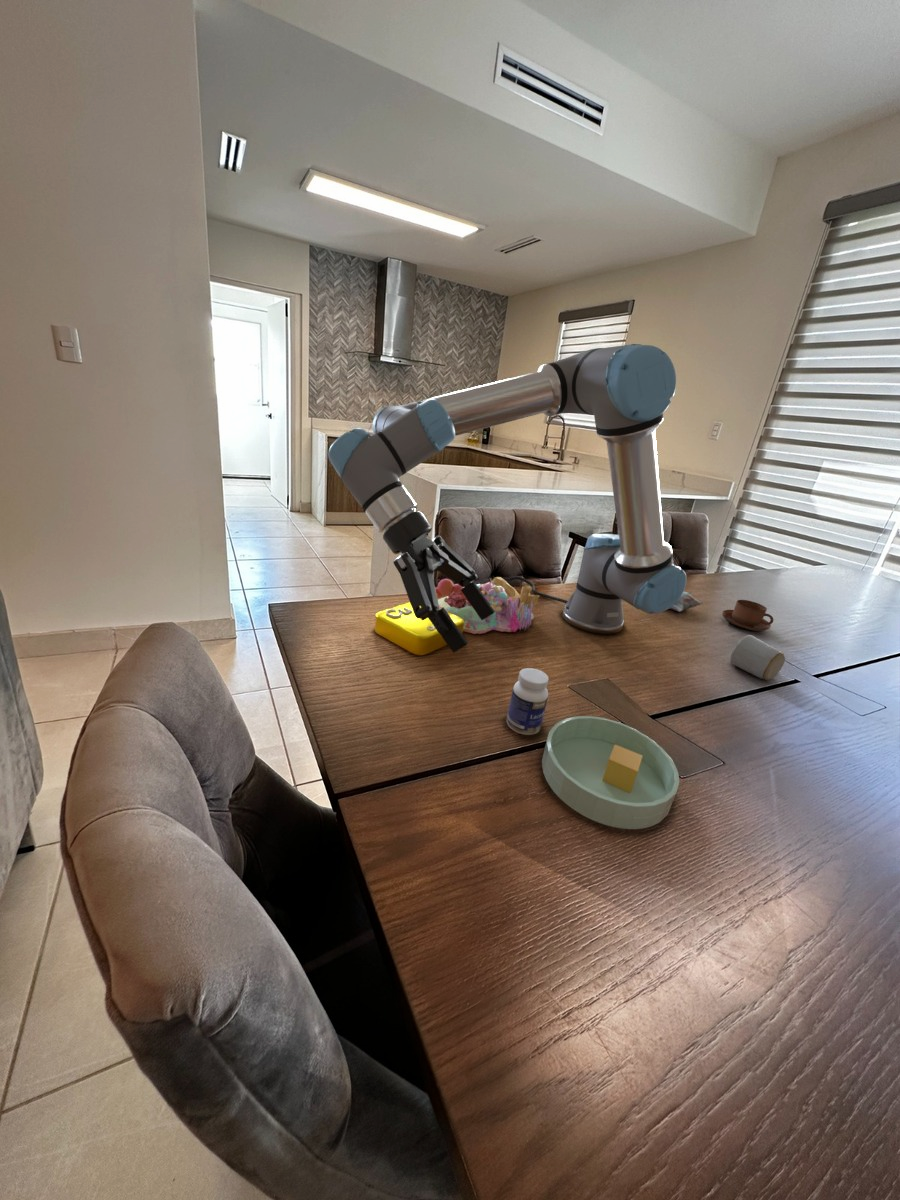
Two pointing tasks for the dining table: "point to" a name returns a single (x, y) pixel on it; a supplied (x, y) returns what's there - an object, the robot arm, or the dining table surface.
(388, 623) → the element tile
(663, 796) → the bowl
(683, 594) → the packaged food
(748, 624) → the cup and saucer
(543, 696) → the pill bottle
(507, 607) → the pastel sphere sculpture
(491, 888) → the dining table surface
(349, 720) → the dining table surface
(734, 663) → the ceramic mug
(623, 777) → the block
